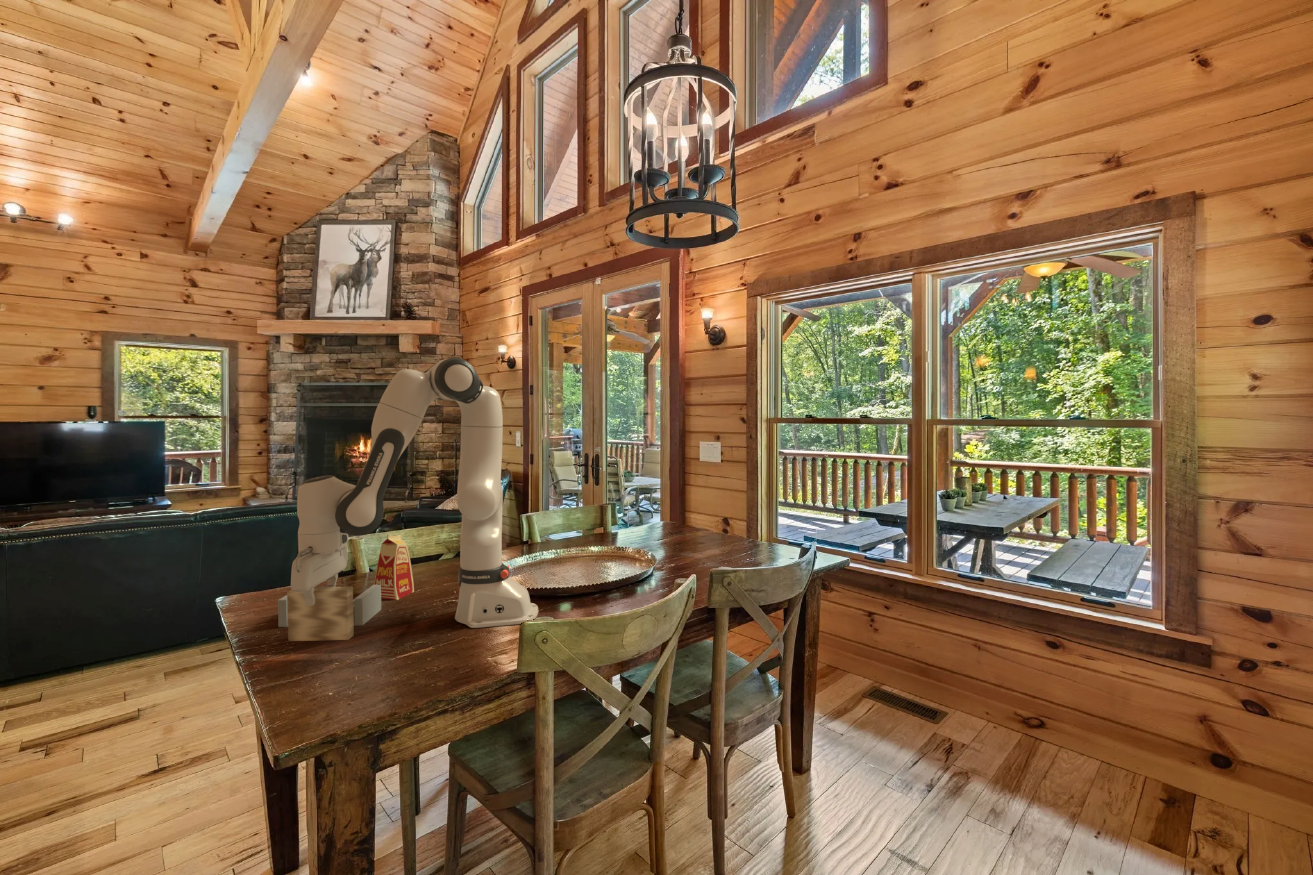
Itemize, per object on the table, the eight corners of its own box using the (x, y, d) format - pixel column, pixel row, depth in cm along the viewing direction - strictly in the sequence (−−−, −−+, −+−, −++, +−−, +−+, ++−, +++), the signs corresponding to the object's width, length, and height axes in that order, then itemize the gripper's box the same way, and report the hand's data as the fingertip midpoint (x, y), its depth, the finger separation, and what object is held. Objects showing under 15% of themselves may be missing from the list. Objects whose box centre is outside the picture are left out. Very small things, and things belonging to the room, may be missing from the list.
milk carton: (397, 603, 170) (396, 536, 169) (370, 601, 172) (369, 535, 171) (416, 594, 179) (415, 530, 178) (390, 592, 181) (389, 529, 180)
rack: (381, 613, 162) (380, 584, 162) (362, 629, 150) (362, 598, 150) (303, 614, 161) (302, 585, 160) (278, 631, 149) (277, 600, 149)
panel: (353, 637, 144) (352, 586, 143) (348, 642, 141) (347, 590, 140) (295, 639, 143) (294, 587, 142) (288, 644, 140) (287, 591, 139)
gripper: (310, 553, 131) (312, 613, 131) (351, 533, 151) (353, 585, 152) (281, 553, 130) (283, 613, 131) (326, 533, 151) (328, 586, 151)
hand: (321, 598), depth 142 cm, fingers open, 8 cm apart
